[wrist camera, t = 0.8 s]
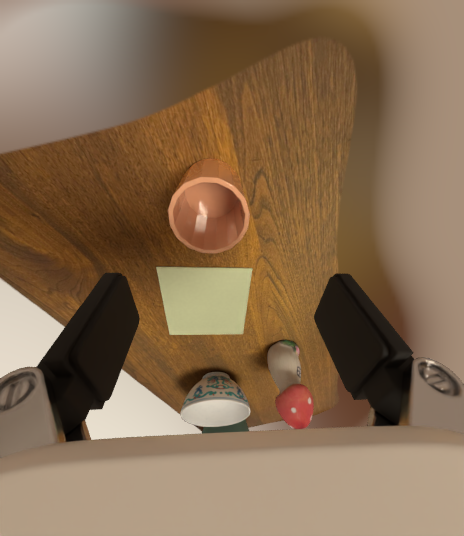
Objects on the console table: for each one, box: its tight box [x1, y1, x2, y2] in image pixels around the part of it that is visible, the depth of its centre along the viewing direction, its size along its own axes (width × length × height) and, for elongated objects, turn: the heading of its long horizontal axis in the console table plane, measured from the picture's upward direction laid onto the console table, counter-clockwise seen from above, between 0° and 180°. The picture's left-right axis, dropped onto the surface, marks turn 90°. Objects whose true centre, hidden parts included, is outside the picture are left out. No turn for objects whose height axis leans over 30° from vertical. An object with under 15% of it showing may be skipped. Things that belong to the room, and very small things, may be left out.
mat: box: [156, 267, 252, 335], centre depth 35 cm, size 16×14×1 cm
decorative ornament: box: [267, 340, 313, 429], centre depth 39 cm, size 9×7×15 cm
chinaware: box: [181, 372, 250, 427], centre depth 48 cm, size 15×15×8 cm
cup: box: [168, 159, 250, 253], centre depth 21 cm, size 7×7×8 cm
